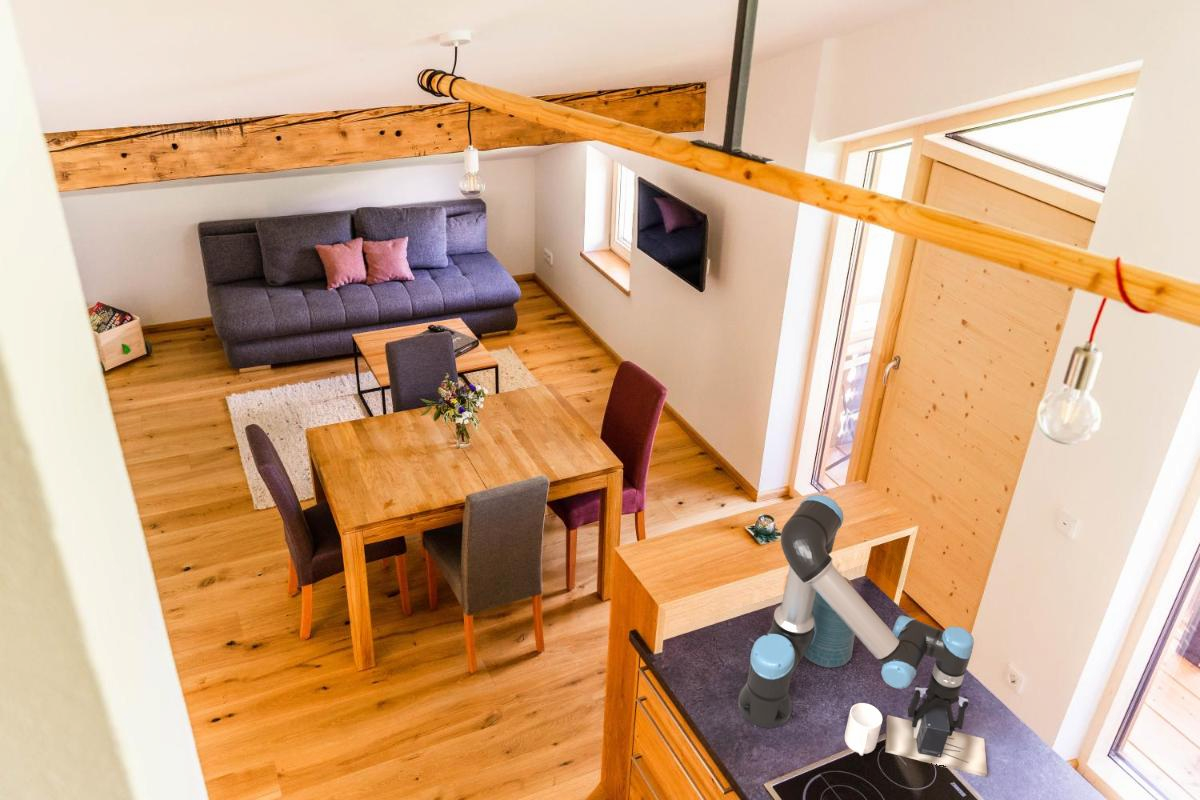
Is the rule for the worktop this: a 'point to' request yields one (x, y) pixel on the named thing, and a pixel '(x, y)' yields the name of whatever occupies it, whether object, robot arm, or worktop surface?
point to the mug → (863, 728)
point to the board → (956, 753)
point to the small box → (933, 731)
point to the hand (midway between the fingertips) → (928, 737)
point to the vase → (829, 636)
